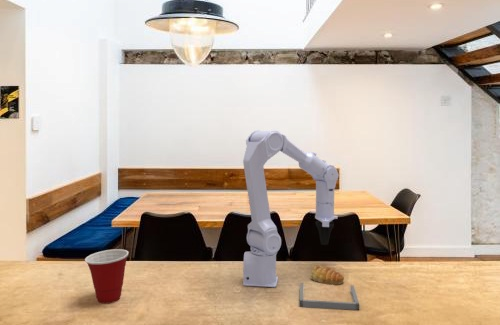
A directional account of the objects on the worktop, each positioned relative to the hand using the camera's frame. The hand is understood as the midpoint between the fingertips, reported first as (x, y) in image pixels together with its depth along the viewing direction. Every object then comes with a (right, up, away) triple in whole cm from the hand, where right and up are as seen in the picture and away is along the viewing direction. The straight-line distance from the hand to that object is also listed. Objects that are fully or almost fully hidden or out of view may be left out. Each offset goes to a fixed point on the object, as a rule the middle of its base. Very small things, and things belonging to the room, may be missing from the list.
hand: (324, 244), depth 133 cm
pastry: (-1, -9, -10) cm, 13 cm away
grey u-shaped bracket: (-3, -10, -23) cm, 25 cm away
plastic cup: (-61, -10, -24) cm, 66 cm away
